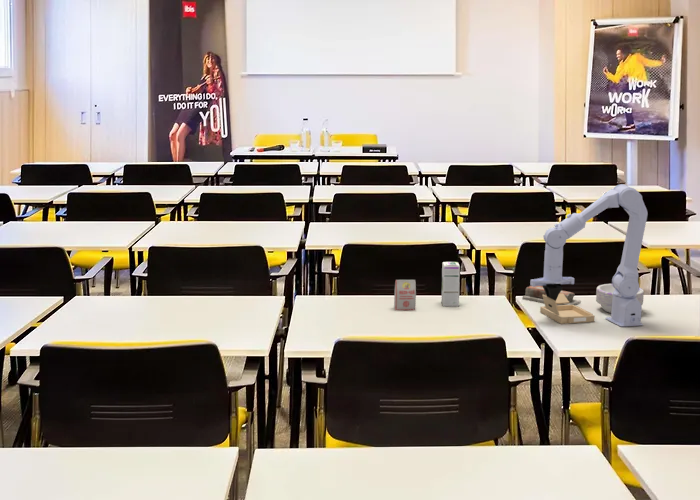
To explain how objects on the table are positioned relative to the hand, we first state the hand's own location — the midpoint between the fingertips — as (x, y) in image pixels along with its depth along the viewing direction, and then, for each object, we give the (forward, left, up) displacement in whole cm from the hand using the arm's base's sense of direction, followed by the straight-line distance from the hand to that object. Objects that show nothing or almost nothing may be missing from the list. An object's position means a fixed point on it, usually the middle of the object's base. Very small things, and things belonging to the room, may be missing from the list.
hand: (551, 306), depth 273 cm
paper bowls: (+5, -28, -5) cm, 29 cm away
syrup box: (+25, +25, -5) cm, 36 cm away
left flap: (0, -1, -2) cm, 2 cm away
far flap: (+9, -9, -2) cm, 13 cm away
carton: (+2, -7, -5) cm, 9 cm away
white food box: (+23, +42, -5) cm, 48 cm away
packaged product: (+22, -12, -5) cm, 25 cm away
